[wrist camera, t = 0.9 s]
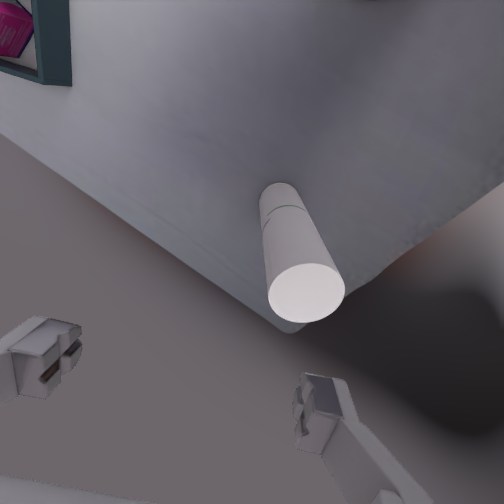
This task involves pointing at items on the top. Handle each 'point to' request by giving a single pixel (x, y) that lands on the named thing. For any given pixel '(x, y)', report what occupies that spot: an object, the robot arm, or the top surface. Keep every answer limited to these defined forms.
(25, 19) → the supplement box
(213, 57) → the top surface
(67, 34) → the case
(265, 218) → the cylindrical container
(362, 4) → the top surface
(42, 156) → the top surface
